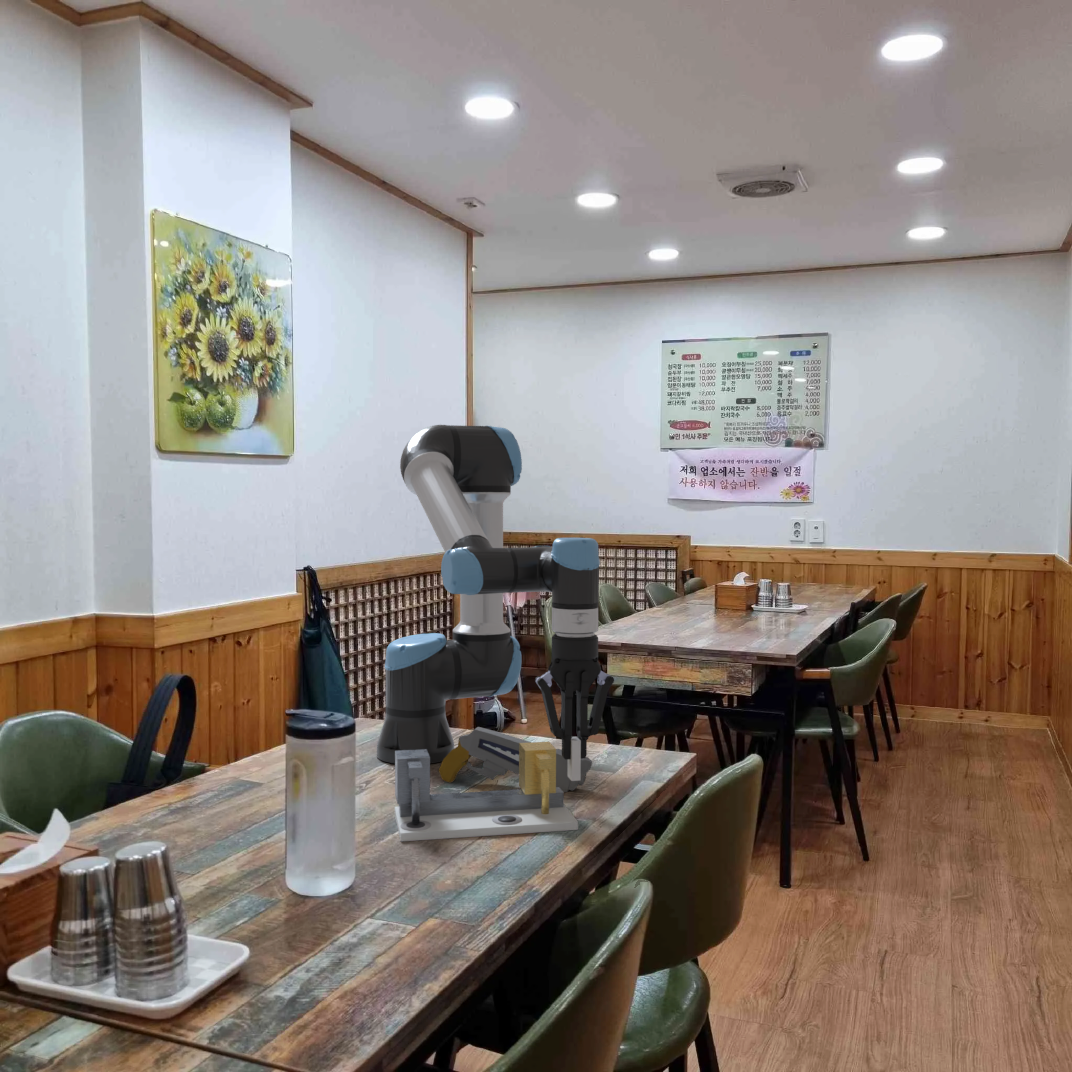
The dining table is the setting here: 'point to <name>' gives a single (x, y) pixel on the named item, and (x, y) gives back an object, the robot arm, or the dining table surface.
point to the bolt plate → (485, 823)
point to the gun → (500, 758)
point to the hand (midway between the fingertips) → (573, 778)
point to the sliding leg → (538, 770)
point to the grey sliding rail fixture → (419, 801)
